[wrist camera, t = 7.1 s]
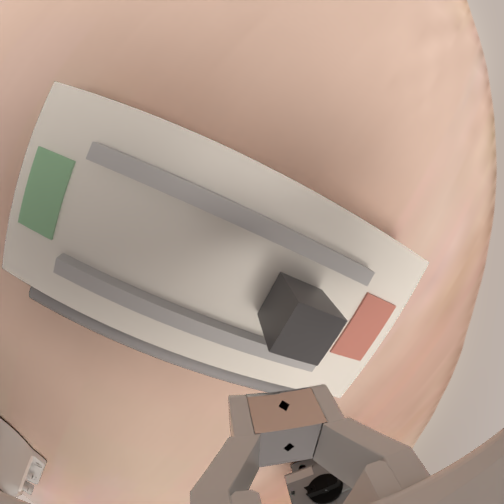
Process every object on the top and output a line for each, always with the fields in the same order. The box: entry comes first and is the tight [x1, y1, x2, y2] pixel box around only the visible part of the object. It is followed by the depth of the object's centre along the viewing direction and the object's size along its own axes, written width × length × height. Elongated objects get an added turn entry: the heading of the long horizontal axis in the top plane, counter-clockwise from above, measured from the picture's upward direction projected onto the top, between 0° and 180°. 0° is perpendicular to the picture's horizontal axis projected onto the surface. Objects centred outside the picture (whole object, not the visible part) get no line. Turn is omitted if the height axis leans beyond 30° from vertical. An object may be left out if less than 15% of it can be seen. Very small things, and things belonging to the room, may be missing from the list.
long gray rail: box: [29, 286, 294, 393], centre depth 23 cm, size 3×26×2 cm, turn 63°
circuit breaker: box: [284, 458, 352, 504], centre depth 25 cm, size 8×14×15 cm, turn 25°
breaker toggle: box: [257, 272, 347, 366], centre depth 16 cm, size 3×3×4 cm
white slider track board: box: [2, 81, 429, 398], centre depth 19 cm, size 13×28×6 cm, turn 63°
